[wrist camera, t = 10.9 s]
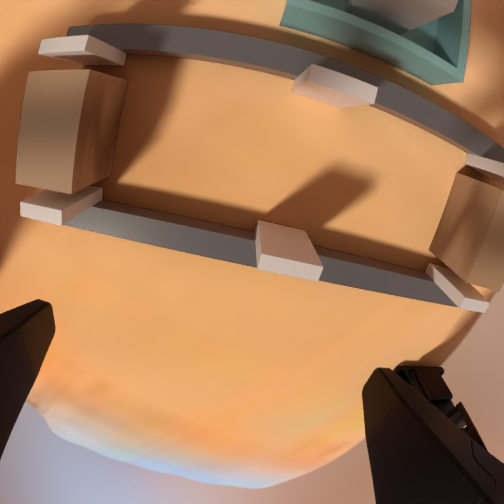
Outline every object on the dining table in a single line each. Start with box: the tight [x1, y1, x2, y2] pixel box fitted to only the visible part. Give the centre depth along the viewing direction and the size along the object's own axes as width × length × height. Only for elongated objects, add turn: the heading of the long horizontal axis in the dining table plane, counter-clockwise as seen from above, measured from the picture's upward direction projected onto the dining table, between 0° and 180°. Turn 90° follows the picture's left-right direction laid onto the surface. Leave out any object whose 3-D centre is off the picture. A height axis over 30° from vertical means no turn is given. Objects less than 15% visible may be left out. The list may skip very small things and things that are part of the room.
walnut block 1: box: [16, 69, 128, 194], centre depth 13 cm, size 6×4×5 cm, turn 166°
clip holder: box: [20, 24, 504, 313], centre depth 15 cm, size 13×31×5 cm, turn 76°
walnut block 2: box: [429, 173, 504, 292], centre depth 16 cm, size 6×4×5 cm, turn 166°
